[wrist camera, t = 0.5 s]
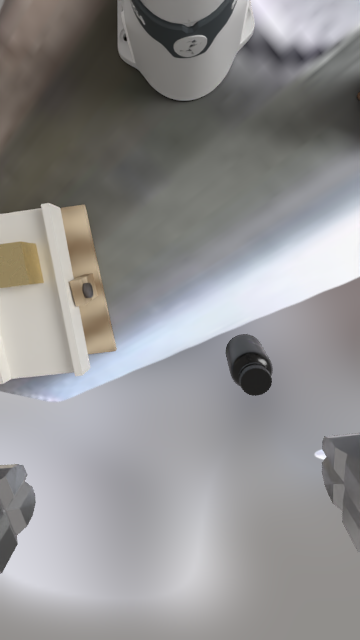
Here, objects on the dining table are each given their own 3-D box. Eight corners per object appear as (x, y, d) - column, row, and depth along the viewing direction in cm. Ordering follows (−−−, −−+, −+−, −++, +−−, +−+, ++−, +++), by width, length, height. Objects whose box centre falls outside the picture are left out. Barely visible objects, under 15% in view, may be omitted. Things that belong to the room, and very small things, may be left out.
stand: (-29, 221, 49) (-67, 221, 42) (85, 205, 47) (66, 201, 40) (17, 359, 57) (-7, 379, 50) (116, 348, 56) (105, 367, 48)
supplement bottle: (262, 333, 54) (282, 362, 42) (259, 365, 56) (277, 402, 44) (225, 332, 54) (235, 362, 42) (223, 365, 56) (232, 401, 45)
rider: (-2, 248, 45) (-21, 247, 41) (35, 243, 44) (20, 241, 40) (7, 287, 46) (-10, 289, 42) (43, 282, 45) (29, 284, 41)
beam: (-28, 220, 46) (-46, 217, 42) (60, 208, 44) (49, 203, 41) (10, 376, 50) (-4, 384, 47) (90, 367, 49) (82, 375, 46)
